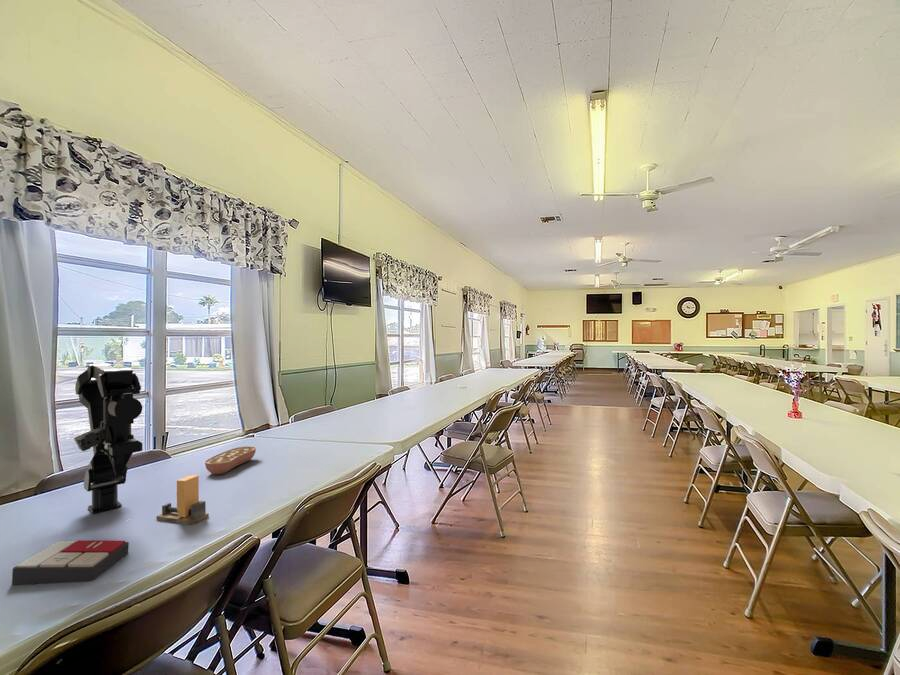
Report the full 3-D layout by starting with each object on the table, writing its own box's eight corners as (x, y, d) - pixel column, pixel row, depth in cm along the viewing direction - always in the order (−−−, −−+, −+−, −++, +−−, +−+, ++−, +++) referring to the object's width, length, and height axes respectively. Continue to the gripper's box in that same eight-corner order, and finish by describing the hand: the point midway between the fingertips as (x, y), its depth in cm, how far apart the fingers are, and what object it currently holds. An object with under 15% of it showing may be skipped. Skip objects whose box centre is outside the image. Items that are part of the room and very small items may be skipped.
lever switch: (156, 519, 112) (156, 502, 112) (173, 512, 117) (173, 495, 117) (192, 525, 109) (192, 507, 109) (208, 517, 114) (208, 500, 114)
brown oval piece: (223, 478, 145) (223, 464, 145) (196, 477, 146) (196, 463, 146) (260, 459, 168) (260, 446, 168) (237, 458, 169) (236, 446, 169)
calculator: (93, 564, 84) (11, 564, 83) (92, 586, 84) (10, 586, 83) (129, 538, 95) (58, 538, 94) (129, 557, 95) (57, 557, 94)
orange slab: (177, 516, 111) (176, 480, 111) (191, 510, 115) (191, 474, 115) (184, 517, 110) (184, 481, 110) (198, 510, 114) (198, 475, 114)
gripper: (69, 417, 111) (70, 476, 111) (86, 425, 99) (87, 492, 99) (121, 411, 120) (122, 466, 120) (142, 418, 108) (143, 479, 108)
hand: (118, 475), depth 112 cm, fingers closed
